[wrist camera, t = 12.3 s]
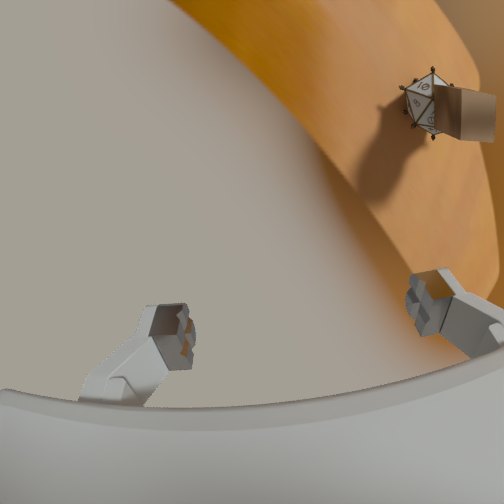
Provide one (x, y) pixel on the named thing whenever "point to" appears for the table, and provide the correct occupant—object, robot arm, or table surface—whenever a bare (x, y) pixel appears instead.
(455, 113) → the walnut cube
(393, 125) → the table surface
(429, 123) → the game die
